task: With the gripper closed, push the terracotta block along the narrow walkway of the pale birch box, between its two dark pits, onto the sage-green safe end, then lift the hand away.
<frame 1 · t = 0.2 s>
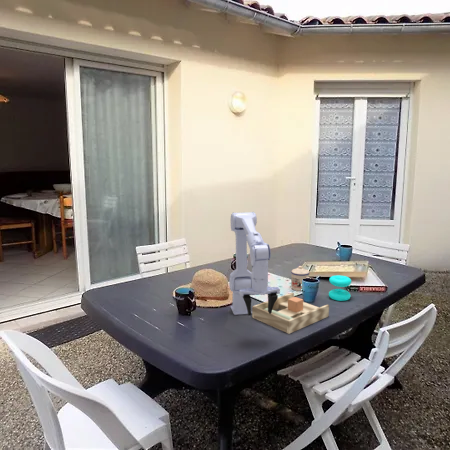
hand: (259, 313, 141), 10 cm above the table, tool pointing down, fingers open, 7 cm apart
teacup with lid: (301, 289, 197), on the table
block: (295, 309, 164), point 2 cm above the table, touching trap box
trap box: (290, 317, 163), on the table
cyan spool: (339, 298, 185), on the table
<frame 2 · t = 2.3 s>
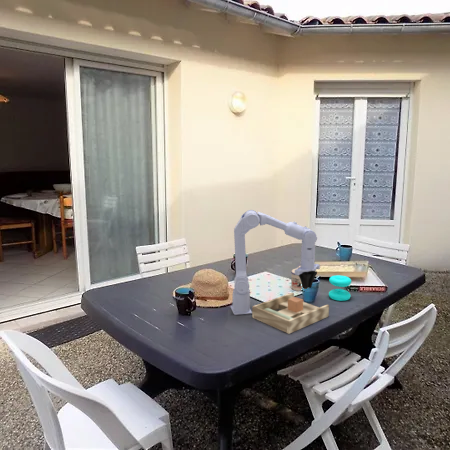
hand: (306, 287, 167), 10 cm above the table, tool pointing down, fingers closed
nothing on the table moved.
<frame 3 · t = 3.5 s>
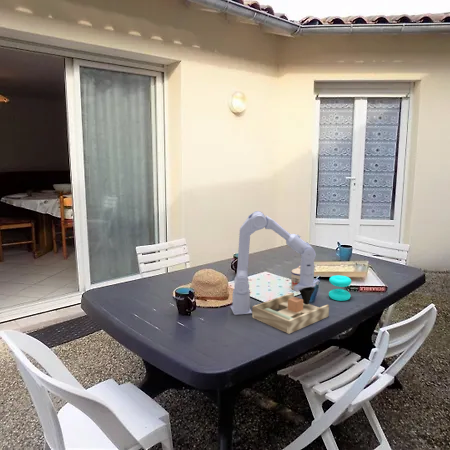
hand: (306, 303, 169), 3 cm above the table, tool pointing down, fingers closed
nothing on the table moved.
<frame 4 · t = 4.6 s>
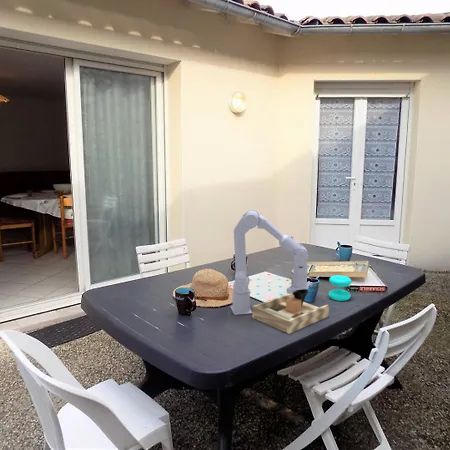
hand: (299, 306, 166), 3 cm above the table, tool pointing down, fingers closed
block: (293, 310, 163), point 3 cm above the table, touching gripper
everything else where it was.
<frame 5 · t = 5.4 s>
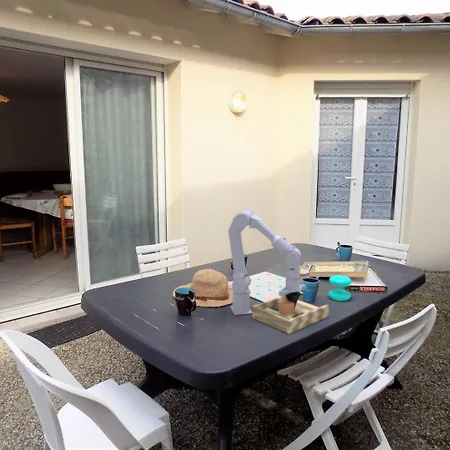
hand: (292, 308, 163), 3 cm above the table, tool pointing down, fingers closed
block: (286, 313, 160), point 3 cm above the table, touching gripper
everything else where it was.
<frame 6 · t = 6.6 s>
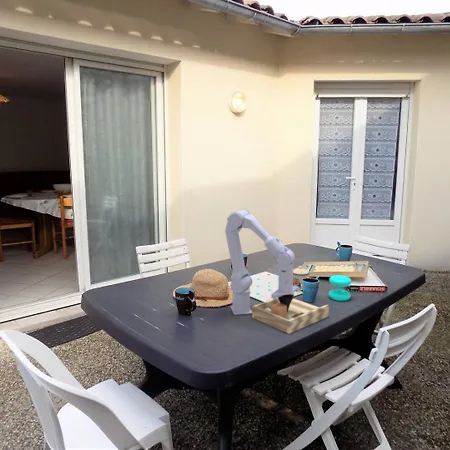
hand: (285, 311, 160), 3 cm above the table, tool pointing down, fingers closed
block: (278, 316, 158), point 3 cm above the table, touching gripper
everything else where it was.
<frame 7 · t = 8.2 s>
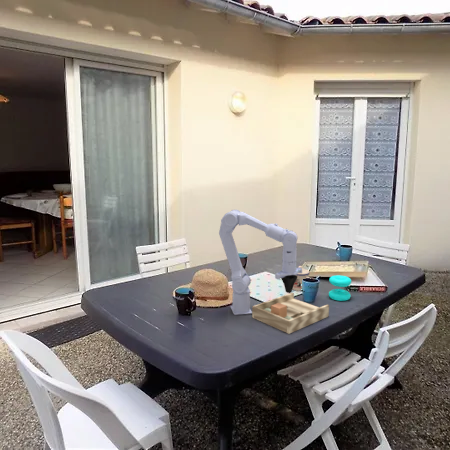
hand: (288, 292, 162), 10 cm above the table, tool pointing down, fingers closed
block: (278, 316, 158), point 2 cm above the table, touching trap box
everything else where it was.
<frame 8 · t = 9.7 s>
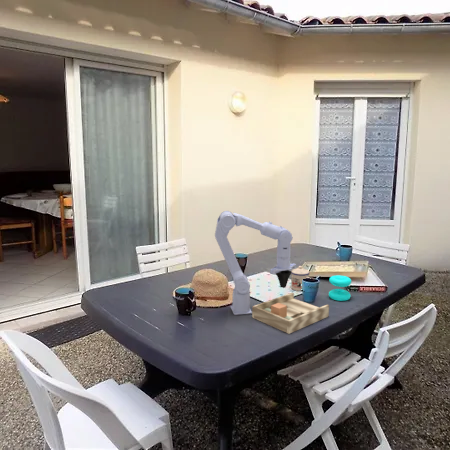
hand: (283, 287, 169), 10 cm above the table, tool pointing down, fingers closed
nothing on the table moved.
at the end: block 0.7 cm from the target spot, point 2.5 cm above the table; block tilted 0°; block moved 10.4 cm from its start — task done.
